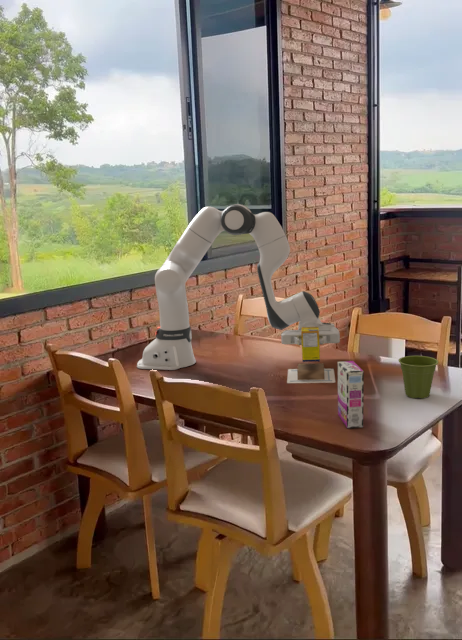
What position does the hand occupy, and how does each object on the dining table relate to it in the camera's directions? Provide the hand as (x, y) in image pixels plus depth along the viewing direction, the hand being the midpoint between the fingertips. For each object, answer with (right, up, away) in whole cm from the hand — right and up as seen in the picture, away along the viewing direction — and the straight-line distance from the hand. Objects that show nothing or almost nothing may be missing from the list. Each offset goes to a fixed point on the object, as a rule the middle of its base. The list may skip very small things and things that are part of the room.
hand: (310, 342), depth 225 cm
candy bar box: (+7, -21, -36) cm, 43 cm away
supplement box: (0, -6, +2) cm, 7 cm away
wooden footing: (+1, -12, +3) cm, 12 cm away
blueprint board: (+1, -13, +4) cm, 13 cm away
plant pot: (+31, -16, -18) cm, 39 cm away
